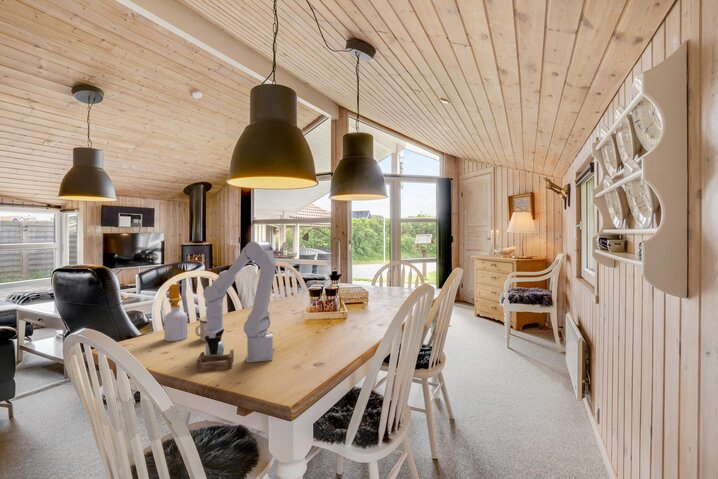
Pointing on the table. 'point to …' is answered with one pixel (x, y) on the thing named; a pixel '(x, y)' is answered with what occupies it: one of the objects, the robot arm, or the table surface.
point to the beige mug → (202, 325)
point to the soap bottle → (175, 318)
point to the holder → (215, 362)
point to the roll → (220, 349)
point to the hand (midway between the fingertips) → (215, 351)
